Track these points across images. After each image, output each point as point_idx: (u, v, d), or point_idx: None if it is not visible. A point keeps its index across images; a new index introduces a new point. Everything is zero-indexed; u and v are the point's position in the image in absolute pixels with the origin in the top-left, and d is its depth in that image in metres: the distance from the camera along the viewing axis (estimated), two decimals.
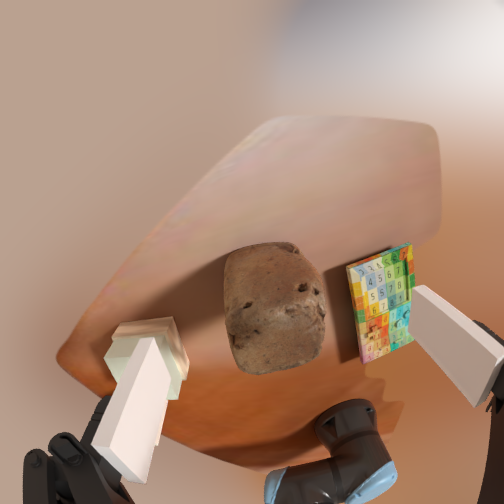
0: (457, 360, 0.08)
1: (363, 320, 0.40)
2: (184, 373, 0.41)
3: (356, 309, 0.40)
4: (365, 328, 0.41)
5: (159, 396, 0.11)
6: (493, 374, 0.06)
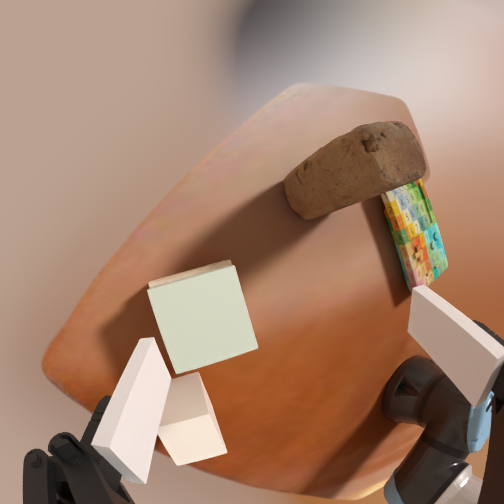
0: (457, 360, 0.08)
1: (407, 239, 0.41)
2: None
3: (399, 229, 0.41)
4: (411, 249, 0.41)
5: (159, 396, 0.11)
6: (493, 374, 0.06)
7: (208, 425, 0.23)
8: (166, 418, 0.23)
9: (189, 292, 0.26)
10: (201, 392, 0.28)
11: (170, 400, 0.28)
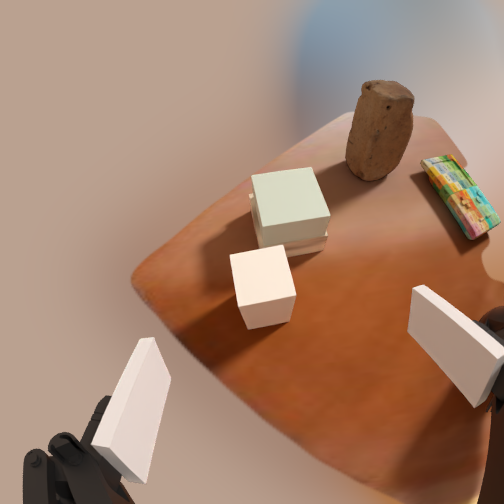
0: (457, 360, 0.08)
1: (452, 192, 0.42)
2: None
3: (442, 185, 0.44)
4: (457, 198, 0.41)
5: (159, 396, 0.11)
6: (493, 374, 0.06)
7: (281, 256, 0.30)
8: None
9: (280, 178, 0.38)
10: None
11: None
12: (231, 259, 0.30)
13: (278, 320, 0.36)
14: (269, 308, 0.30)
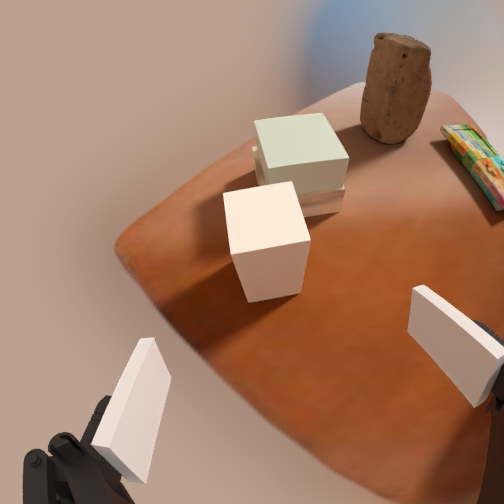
0: (457, 360, 0.08)
1: (476, 158, 0.34)
2: None
3: (465, 151, 0.35)
4: (482, 165, 0.33)
5: (159, 396, 0.11)
6: (493, 374, 0.06)
7: (289, 193, 0.22)
8: None
9: (287, 122, 0.31)
10: None
11: None
12: (225, 198, 0.23)
13: (286, 289, 0.29)
14: (274, 264, 0.23)
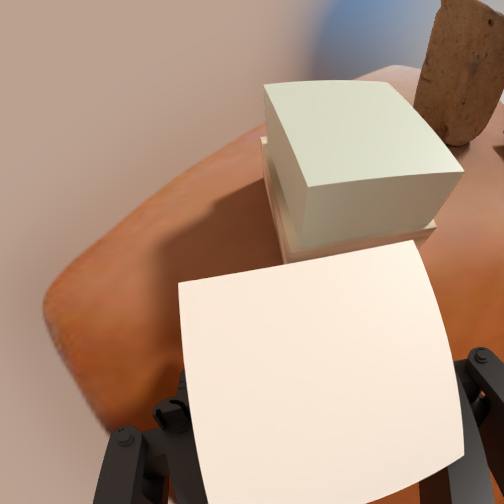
0: None
1: None
2: None
3: None
4: None
5: None
6: None
7: (414, 292, 0.06)
8: None
9: (331, 89, 0.14)
10: None
11: None
12: (185, 306, 0.06)
13: None
14: None
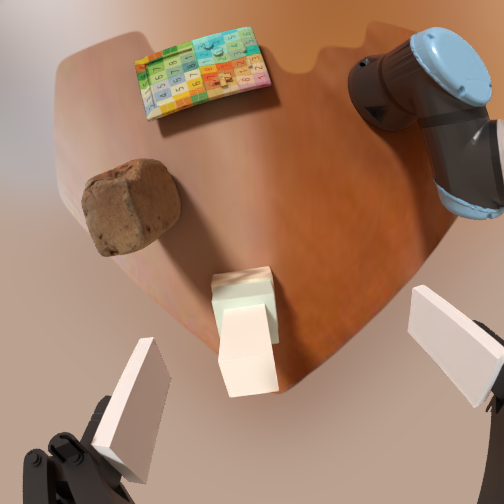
0: (457, 360, 0.08)
1: (204, 93, 0.36)
2: (264, 276, 0.44)
3: (191, 103, 0.36)
4: (215, 89, 0.36)
5: (159, 396, 0.11)
6: (493, 374, 0.06)
7: (231, 364, 0.28)
8: None
9: None
10: (221, 336, 0.33)
11: None
12: (234, 396, 0.30)
13: None
14: None
